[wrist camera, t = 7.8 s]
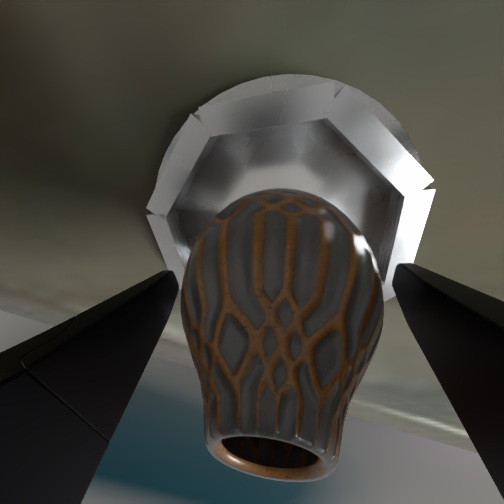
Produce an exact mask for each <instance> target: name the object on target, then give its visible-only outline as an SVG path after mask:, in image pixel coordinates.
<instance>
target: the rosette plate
mask: <svg viewBox="0 0 504 504" xmlns="http://www.w3.org/2000/svg"><path fill="white" fill-rule="evenodd" d="M198 108H199V109H198V110H197V111H196V112H195V113H194V114H191V113H190V116H189V118H188V120H187V121H186V122H185V123H184V125H183V126H182V127H181V129H180V130H179V131H178V133H177V134H176V135H175V137H174V138H173V140H172V142H171V144H170V146H169V147H168V149H167V151H166V153H165V155H164V158H163V161H162V164H161V166H160V169H159V173H158V177H157V182H156V187H155V190H154V192H153V194H152V196H151V199H150V201H149V203H148V205H147V207H146V208H147V209H148V210H150V211H151V213H149V214H147V215H146V216H147V218H148V221H149V223H150V226H151V228H152V231H153V233H154V236H155V238H156V241H157V243H158V246H159V248H160V250H161V253H162V255H163V258H164V260H165V263H166V265H167V268H168V270H172V271H173V272H174V273H175V276H176V278H177V281H178V284H179V289H182V282H183V277H184V272H185V268H186V264H187V261H188V258H189V255H190V253H191V251H192V249H193V246H194V244H195V242H196V240H197V239H198V237H199V236H200V234H201V233H202V231H203V230H204V229H205V227H206V226H207V225H208V224H209V223H210V221H211V220H212V219H213V218H214V217H215V216H216V215H217V214H218V213H219V212H220V211H222V210H223V209H224V208H225V207H227V206H228V205H229V204H231V203H232V202H234V201H235V200H237V199H239V198H241V197H243V196H245V195H248V194H250V193H254V192H257V191H261V190H266V189H274V188H287V189H295V190H300V191H304V192H308V193H311V194H314V195H316V196H319V197H321V198H323V199H325V200H327V201H328V202H330V203H331V204H333V205H334V206H336V207H337V208H338V209H339V210H341V211H342V212H343V213H344V214H345V215H346V216H347V217H348V218H349V219H350V220H351V221H352V222H353V223H354V225H355V226H356V227H357V228H358V229H359V231H360V232H361V233H362V235H363V236H364V238H365V239H366V241H367V243H368V244H369V246H370V248H371V250H372V252H373V255H374V257H375V260H376V262H377V266H378V269H379V273H380V277H381V283H382V289H383V300H384V302H385V301H386V300H388V299H390V298H392V297H393V296H395V295H396V294H395V292H394V289H393V287H392V280H393V276H394V272H395V268H396V266H397V264H399V263H413V262H414V258H415V255H416V252H417V248H418V245H419V242H420V239H421V235H422V232H423V229H424V225H425V222H426V219H427V216H428V212H429V209H430V206H431V202H432V199H433V196H434V193H435V189H433V188H431V187H428V186H427V185H428V184H430V183H431V182H432V181H433V179H432V177H431V176H430V175H429V174H428V173H427V172H426V171H425V170H424V169H423V168H422V166H421V163H420V159H419V156H418V154H417V152H416V149H415V147H414V145H413V143H412V141H411V139H410V137H409V136H408V134H407V133H406V132H405V130H404V129H403V127H402V126H401V125H400V123H399V122H398V121H397V119H396V118H395V117H394V116H393V115H392V114H391V113H389V112H388V111H387V110H386V109H385V108H384V107H383V106H382V105H381V104H380V103H379V102H377V101H376V100H374V99H372V98H371V97H369V96H368V95H366V94H365V93H363V92H362V91H360V90H358V89H356V88H353V87H351V86H349V85H347V84H344V83H341V82H339V81H337V80H332V79H328V78H323V77H318V76H314V75H298V74H284V75H275V76H267V77H262V78H258V79H255V80H251V81H248V82H245V83H241V84H239V85H237V86H235V87H233V88H231V89H229V90H226V91H224V92H222V93H220V94H219V95H217V96H216V97H214V98H213V99H211V100H210V101H209V102H207V103H206V104H204V105H203V106H201V107H198ZM180 294H181V293H180Z"/></svg>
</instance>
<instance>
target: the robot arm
mask: <svg viewBox="0 0 504 504" xmlns="http://www.w3.org/2000/svg"><path fill="white" fill-rule="evenodd" d="M392 287H393V289H394V292H395V294H396V297H397V299H398V302H399V304H400V307H401V309H402V312H403V314H404V317H405V319H406V321H407V324H408V326H409V328H410V329H411V331H412V333H413V335H414V337H415V339H416V340H417V342H418V344H419V346H420V348H421V350H422V351H423V353H424V355H425V357H426V359H427V361H428V362H429V364H430V366H431V368H432V370H433V371H434V373H435V375H436V377H437V379H438V381H439V382H440V384H441V386H442V388H443V390H444V392H445V393H446V395H447V397H448V399H449V401H450V402H451V404H452V406H453V408H454V410H455V412H456V413H457V415H458V417H459V419H460V421H461V423H462V424H463V426H464V428H465V430H466V432H467V433H468V435H469V437H470V439H471V441H472V443H473V444H474V446H475V448H476V450H477V452H478V454H479V455H480V457H481V459H482V461H483V463H484V464H485V466H486V468H487V470H488V472H489V473H490V475H491V477H492V479H493V481H494V482H495V484H496V486H497V488H498V490H499V492H500V494H501V495H502V497H503V499H504V302H503V301H501V300H499V299H496V298H494V297H492V296H489V295H487V294H484V293H482V292H480V291H477V290H475V289H472V288H470V287H468V286H465V285H463V284H461V283H458V282H456V281H453V280H451V279H449V278H446V277H444V276H441V275H439V274H437V273H434V272H432V271H430V270H427V269H425V268H422V267H420V266H418V265H415V264H413V263H399V264H397V266H396V268H395V272H394V276H393V280H392ZM178 291H179V284H178V281H177V278H176V276H175V273H174V272H173V271H172V270H164V271H161V272H159V273H157V274H156V275H154V276H152V277H150V278H148V279H146V280H144V281H142V282H140V283H138V284H136V285H134V286H132V287H130V288H128V289H127V290H125V291H123V292H121V293H119V294H117V295H115V296H113V297H111V298H109V299H107V300H105V301H103V302H101V303H99V304H98V305H96V306H94V307H92V308H90V309H88V310H86V311H84V312H82V313H80V314H78V315H77V316H74V317H72V318H70V319H68V320H67V321H65V322H63V323H61V324H59V325H57V326H55V327H53V328H51V329H49V330H47V331H45V332H43V333H41V334H39V335H36V336H35V337H32V338H30V339H28V340H26V341H24V342H22V343H20V344H18V345H16V346H13V347H11V348H9V349H7V350H6V351H3V352H1V353H0V504H81V502H82V500H83V498H84V495H85V494H86V491H87V489H88V487H89V485H90V483H91V481H92V479H93V477H94V475H95V473H96V470H97V468H98V466H99V464H100V462H101V460H102V458H103V455H104V453H105V451H106V449H107V447H108V445H109V441H110V440H111V439H112V436H113V434H114V432H115V430H116V428H117V426H118V424H119V422H120V420H121V418H122V415H123V413H124V411H125V409H126V407H127V405H128V403H129V401H130V399H131V396H132V395H133V393H134V390H135V388H136V386H137V384H138V382H139V380H140V378H141V376H142V373H143V372H144V369H145V367H146V365H147V363H148V361H149V359H150V357H151V355H152V353H153V351H154V348H155V346H156V344H157V342H158V340H159V338H160V336H161V334H162V332H163V330H164V328H165V325H166V323H167V321H168V319H169V316H170V313H171V311H172V308H173V305H174V302H175V299H176V297H177V294H178Z"/></svg>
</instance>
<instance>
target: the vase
mask: <svg viewBox="0 0 504 504" xmlns="http://www.w3.org/2000/svg"><path fill="white" fill-rule="evenodd" d="M181 316H182V323H183V327H184V331H185V335H186V339H187V342H188V346H189V349H190V352H191V355H192V359H193V362H194V365H195V368H196V370H197V373H198V377H199V380H200V384H201V391H202V397H203V410H204V433H205V443H206V447H207V448H208V450H209V452H210V453H211V454H212V455H213V456H214V457H215V458H216V459H217V460H219V461H220V462H222V463H223V464H225V465H227V466H229V467H231V468H234V469H236V470H238V471H241V472H244V473H247V474H250V475H254V476H257V477H262V478H267V479H272V480H279V481H288V482H305V481H306V482H307V481H314V480H319V479H323V478H325V477H327V476H329V475H330V474H331V473H332V472H333V471H334V470H335V468H336V466H337V463H338V458H339V452H340V445H341V439H342V432H343V426H344V421H345V417H346V414H347V410H348V406H349V403H350V401H351V399H352V397H353V395H354V393H355V391H356V389H357V387H358V386H359V384H360V382H361V380H362V378H363V376H364V374H365V372H366V370H367V367H368V365H369V363H370V361H371V359H372V357H373V355H374V352H375V350H376V348H377V345H378V342H379V339H380V335H381V331H382V326H383V316H384V300H383V289H382V283H381V277H380V273H379V269H378V266H377V262H376V260H375V257H374V255H373V252H372V250H371V248H370V246H369V244H368V243H367V241H366V239H365V238H364V236H363V235H362V233H361V232H360V231H359V229H358V228H357V227H356V226H355V225H354V223H353V222H352V221H351V220H350V219H349V218H348V217H347V216H346V215H345V214H344V213H343V212H342V211H341V210H339V209H338V208H337V207H336V206H334V205H333V204H331V203H330V202H328V201H327V200H325V199H323V198H321V197H319V196H316V195H314V194H311V193H308V192H304V191H300V190H295V189H287V188H274V189H266V190H261V191H257V192H254V193H250V194H248V195H245V196H243V197H241V198H239V199H237V200H235V201H234V202H232V203H231V204H229V205H228V206H227V207H225V208H224V209H223V210H222V211H220V212H219V213H218V214H217V215H216V216H215V217H214V218H213V219H212V220H211V221H210V223H209V224H208V225H207V226H206V227H205V229H204V230H203V231H202V233H201V234H200V236H199V237H198V239H197V240H196V242H195V244H194V246H193V249H192V251H191V253H190V255H189V258H188V261H187V264H186V268H185V272H184V277H183V282H182V289H181Z"/></svg>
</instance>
